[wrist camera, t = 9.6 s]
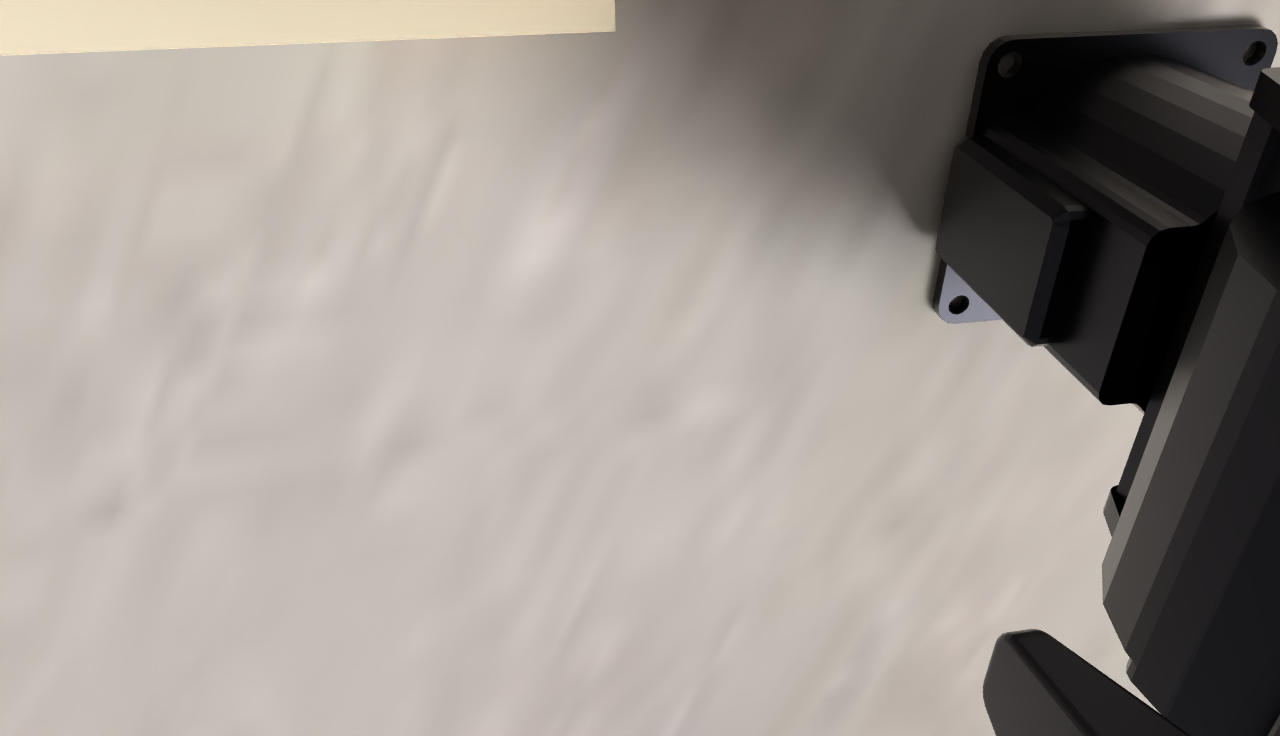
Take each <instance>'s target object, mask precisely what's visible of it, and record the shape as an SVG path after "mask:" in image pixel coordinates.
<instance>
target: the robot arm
mask: <svg viewBox="0 0 1280 736" xmlns="http://www.w3.org/2000/svg"><path fill="white" fill-rule="evenodd" d="M1253 42H1256V47H1255V50H1254V52H1253V54H1252V56H1250V57H1249V58H1248V59H1247V60H1245V61H1243V54H1244V52H1245V51H1246V49H1247V47H1248V46H1250V45H1251V44H1252V43H1253ZM1277 44H1278V42H1277V38H1276V35H1275V34H1274V33H1273V32H1272V31H1271V30H1269V29H1266V28H1263V27H1259V26H1254V25H1246V26H1222V27H1198V28H1175V29H1151V30H1128V31H1104V32H1081V33H1057V34H1033V35H1010V36H1004V37H1000V38H998V39H996V40H995V41H993V42H992V43H990V44H989V46H988V47H987V48H986V49H985V51H984V52H983V54H982V57H981V60H980V63H979V68H978V73H977V78H976V83H975V88H974V93H973V99H972V104H971V109H970V114H969V119H968V124H967V129H966V134H965V137H964V138H963V139H962V140H961V141H960V142H959V144H958V145H957V146H956V147H955V149H954V153H953V159H952V164H951V169H950V174H949V180H948V185H947V190H946V195H945V201H944V206H943V211H942V216H941V222H940V227H939V232H938V237H937V243H936V253H937V254H938V255H939V256H940V257H941V262H940V268H939V273H938V278H937V283H936V288H935V293H934V298H933V308H934V310H935V311H936V313H937V314H938V315H939V317H940V318H941V319H942V320H944V321H946V322H947V323H967V322H978V321H989V320H1001V319H1002V320H1003V321H1004V322H1005V323H1006V324H1007V325H1008V326H1009V327H1010V328H1011V329H1012V330H1013V331H1014V332H1015V333H1016V334H1017V335H1018V336H1019V337H1020V338H1021V339H1022V340H1023V341H1024V342H1025V343H1026V344H1027V345H1029V346H1031V347H1035V346H1044V347H1045V348H1046V349H1047V350H1048V351H1049V352H1050V353H1051V354H1052V355H1053V356H1054V357H1055V358H1056V359H1057V360H1058V361H1059V362H1060V363H1061V364H1062V365H1063V366H1064V367H1065V368H1066V369H1067V370H1068V371H1069V372H1070V373H1071V374H1072V375H1073V376H1074V377H1075V378H1076V379H1077V380H1078V381H1079V382H1080V383H1081V384H1082V385H1083V386H1084V387H1085V388H1086V389H1087V390H1089V391H1090V392H1091V393H1092V394H1093V395H1094V396H1095V397H1096V398H1097V399H1098V400H1099V401H1100V402H1101V403H1102V404H1104V405H1119V404H1128V403H1133V404H1134V405H1135V406H1136V407H1137V408H1138V409H1139V410H1140V411H1141V412H1142V413H1143V414H1144V416H1143V419H1142V422H1141V425H1140V427H1139V430H1138V433H1137V436H1136V438H1135V441H1134V444H1133V447H1132V449H1131V452H1130V455H1129V458H1128V460H1127V463H1126V466H1125V469H1124V471H1123V474H1122V477H1121V480H1120V482H1119V485H1117V486H1114V487H1112V489H1111V490H1110V493H1109V496H1108V498H1107V501H1106V504H1105V507H1104V516H1105V519H1106V522H1107V524H1108V527H1109V530H1110V533H1111V536H1112V540H1111V542H1110V545H1109V548H1108V550H1107V553H1106V556H1105V558H1104V561H1103V564H1102V580H1103V605H1104V607H1105V609H1106V611H1107V613H1108V615H1109V618H1110V620H1111V622H1112V624H1113V626H1114V628H1115V631H1116V633H1117V635H1118V637H1119V639H1120V641H1121V643H1122V646H1123V648H1124V650H1125V651H1126V653H1127V654H1128V656H1129V657H1130V659H1129V661H1128V663H1127V670H1126V673H1127V675H1128V677H1129V679H1130V681H1131V682H1132V683H1133V684H1134V685H1135V686H1136V687H1137V688H1138V690H1139V691H1140V692H1141V693H1142V694H1143V695H1144V696H1145V697H1146V698H1147V699H1148V701H1149V702H1150V703H1151V704H1152V705H1153V706H1154V707H1155V708H1156V709H1157V710H1158V712H1159V713H1158V712H1157V711H1155V710H1154V709H1153V708H1151V707H1150V706H1148V705H1147V704H1146V703H1144V702H1143V701H1141V700H1140V699H1139V698H1137V697H1136V696H1134V695H1133V694H1132V693H1130V692H1129V691H1127V690H1126V689H1125V688H1123V687H1122V686H1120V685H1119V684H1118V683H1116V682H1115V681H1113V680H1112V679H1111V678H1109V677H1108V676H1106V675H1105V674H1104V673H1102V672H1101V671H1099V670H1098V669H1097V668H1095V667H1094V666H1092V665H1091V664H1090V663H1088V662H1087V661H1085V660H1084V659H1083V658H1081V657H1080V656H1078V655H1077V654H1076V653H1074V652H1073V651H1071V650H1070V649H1069V648H1067V647H1066V646H1064V645H1063V644H1062V643H1060V642H1059V641H1057V640H1056V639H1055V638H1053V637H1052V636H1050V635H1049V634H1047V633H1045V632H1043V631H1041V630H1037V629H1028V630H1021V631H1014V632H1007V633H1003V634H1002V635H1001V636H1000V637H999V638H998V639H997V641H996V644H995V647H994V650H993V653H992V657H991V660H990V663H989V666H988V670H987V673H986V676H985V679H984V684H983V698H984V703H985V707H986V710H987V713H988V715H989V718H990V721H991V723H992V726H993V729H994V731H995V734H996V736H1280V67H1278V68H1270V67H1271V65H1272V62H1273V59H1274V56H1275V54H1276V50H1277ZM1010 52H1013V53H1014V63H1013V65H1012V67H1011V68H1010V69H1009V70H1008V71H1007V72H1004V73H1001V74H999V72H998V64H999V62H1000V60H1001V58H1002V57H1004V56H1005V55H1006V54H1007V53H1010ZM960 295H963V300H962V302H961V303H960V304H959V305H958V306H957V307H954V308H949V304H950V302H951V300H952V299H954V298H955V297H957V296H960Z"/></svg>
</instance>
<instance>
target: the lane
mask: <svg viewBox="0 0 1280 736" xmlns="http://www.w3.org/2000/svg"><path fill="white" fill-rule="evenodd" d="M614 31H615V0H0V56H3V55H28V54H54V53H79V52H105V51H130V50H156V49H181V48H207V47H232V46H258V45H283V44H308V43H334V42H359V41H385V40H410V39H436V38H461V37H487V36H512V35H538V34H563V33H589V32H614Z"/></svg>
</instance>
